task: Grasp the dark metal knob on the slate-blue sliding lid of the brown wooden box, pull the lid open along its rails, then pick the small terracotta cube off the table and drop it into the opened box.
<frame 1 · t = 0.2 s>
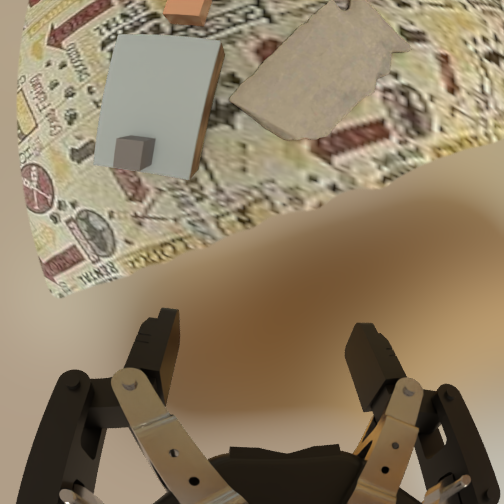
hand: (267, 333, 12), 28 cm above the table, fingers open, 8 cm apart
brown wooden box: (166, 104, 33), on the table
cube: (191, 11, 27), on the table
lid: (145, 101, 25), point 9 cm above the table, slide at 0.0 cm
stone tool: (325, 67, 31), on the table
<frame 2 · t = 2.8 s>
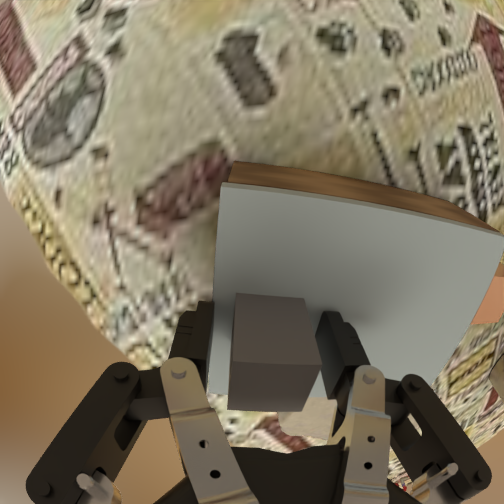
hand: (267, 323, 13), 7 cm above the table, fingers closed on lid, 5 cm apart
brown wooden box: (339, 262, 20), on the table
cube: (469, 274, 21), on the table
figurine: (386, 479, 47), on the table
lid: (382, 347, 12), point 9 cm above the table, slide at 0.2 cm, touching gripper
stone tool: (364, 405, 29), on the table
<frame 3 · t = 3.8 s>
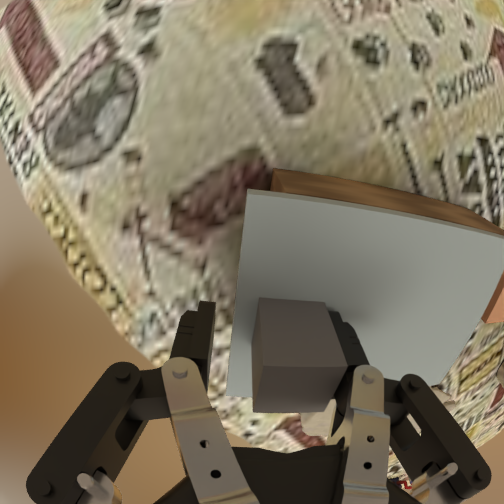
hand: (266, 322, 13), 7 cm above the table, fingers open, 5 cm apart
brown wooden box: (368, 266, 20), on the table
cube: (482, 276, 21), on the table
figurine: (394, 477, 48), on the table
lid: (397, 347, 12), point 9 cm above the table, slide at 1.6 cm, touching gripper
stone tool: (380, 404, 30), on the table
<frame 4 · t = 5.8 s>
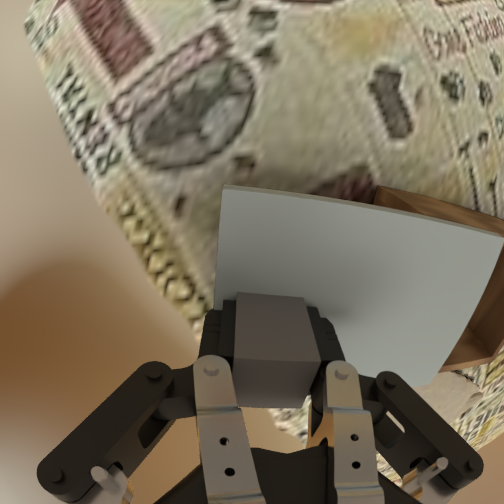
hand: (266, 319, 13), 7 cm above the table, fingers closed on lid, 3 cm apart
brown wooden box: (436, 272, 21), on the table
lid: (380, 345, 12), point 9 cm above the table, slide at 9.6 cm, touching gripper
stone tool: (420, 396, 30), on the table
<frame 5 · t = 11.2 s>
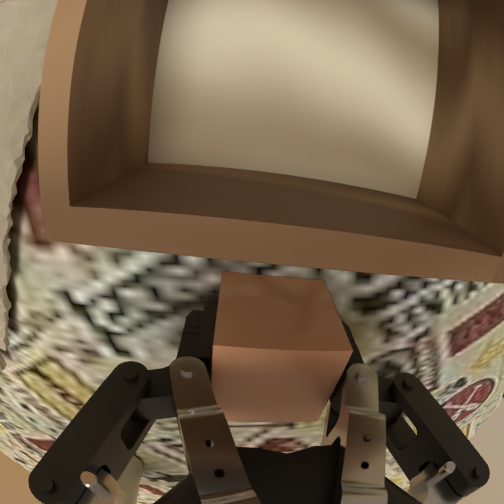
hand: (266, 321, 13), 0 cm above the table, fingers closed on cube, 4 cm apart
brown wooden box: (313, 0, 7), on the table
cube: (266, 316, 14), on the table, touching gripper
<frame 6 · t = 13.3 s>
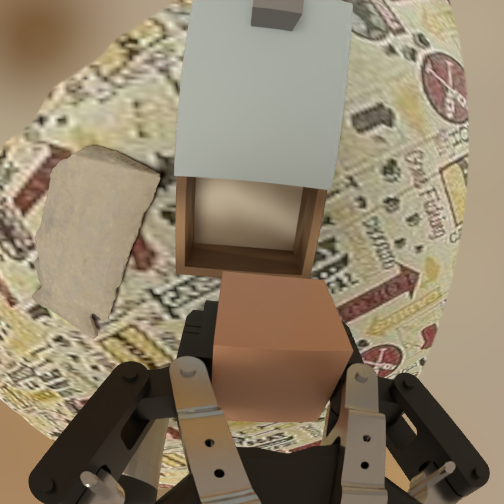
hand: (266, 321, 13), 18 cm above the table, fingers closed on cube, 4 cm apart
brown wooden box: (250, 176, 28), on the table
cube: (267, 316, 14), point 17 cm above the table, touching gripper
lid: (267, 72, 16), point 9 cm above the table, slide at 8.9 cm
stone tool: (85, 242, 31), on the table
when the fingers open (6 cm above the table, at t = 15.5 s): cube drops 5 cm, resting on brown wooden box.
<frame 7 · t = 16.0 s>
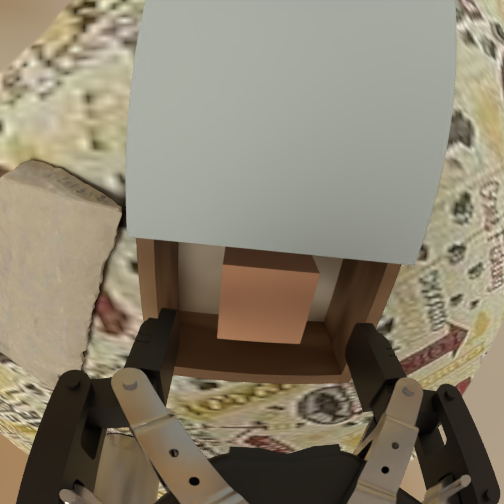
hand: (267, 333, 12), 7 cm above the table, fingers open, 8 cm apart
brown wooden box: (267, 215, 18), on the table
cube: (261, 265, 18), point 1 cm above the table, touching brown wooden box
lid: (328, 23, 6), point 9 cm above the table, slide at 8.9 cm
stone tool: (39, 290, 21), on the table
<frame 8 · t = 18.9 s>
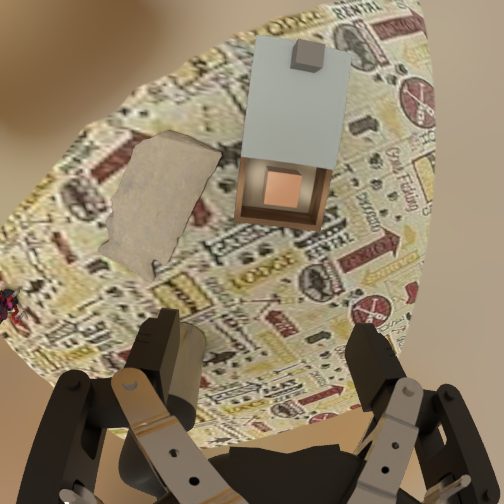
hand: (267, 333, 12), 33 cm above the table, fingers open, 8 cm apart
brown wooden box: (281, 161, 41), on the table
cube: (279, 182, 42), point 1 cm above the table, touching brown wooden box
figurine: (17, 298, 52), on the table
lid: (300, 99, 30), point 9 cm above the table, slide at 8.9 cm
stone tool: (154, 203, 44), on the table
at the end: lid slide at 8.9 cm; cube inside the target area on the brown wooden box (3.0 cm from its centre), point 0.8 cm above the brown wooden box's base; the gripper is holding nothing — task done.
